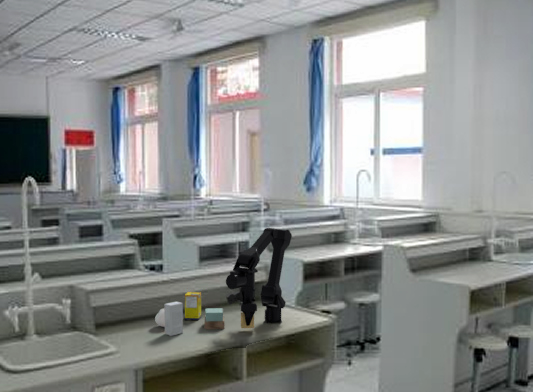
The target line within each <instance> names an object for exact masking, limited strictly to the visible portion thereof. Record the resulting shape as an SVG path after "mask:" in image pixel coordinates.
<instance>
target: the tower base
mask: <svg viewBox="0 0 533 392" xmlns="http://www.w3.org/2000/svg"><path fill="white" fill-rule="evenodd" d="M224 329H225V316H224V315H223V321H206V315H205V316H204V330H224Z"/></svg>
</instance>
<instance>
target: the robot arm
mask: <svg viewBox="0 0 533 392" xmlns="http://www.w3.org/2000/svg"><path fill="white" fill-rule="evenodd" d="M292 236H293V235H292V233H291V231H290V229H282V228H274V227H266V228H264V230H263V232H262V233H261V234H260V236H259V237H258V238H257V239H256V240H255V241H254V243H253V244H252V245H251V246H250V247H249V248H247V249H244V250H243V251H242V252H241V253H240V254H239V255H238V256H237V259H236V261H235V264H234V266H233V269H232V270H231V271H229V275H227V277H226V279H225V284H226V286H227V288H228V289H229V290H235V291H233V292H230V293H228V294H226V295H225V297H226V300H227V304H228V305H232V304H234V303H237V302H238V303H239V306H240V308H239V309H240V312H241V313H242V312H243V313H244V315H245V320H246V325H247V326H249V325H250V323H251V320H252V318H253V316H254V317H255V313H256V312H257V311H258V305H257V303H256V298H255V297H256V286H255V283H256V282H255V280H256V279H255V278H256V277H255V276H256V275H255V274H256V273H258V272H259V270H258V269H257V266H258V264H259V262H260V261H261V259H260V258H261V255H262V253H263V252H265V250H266V249H267V247H268V246H269V245H270V244H271V245H272V255H271V260H270V266H269V273H268V279H267V282H266V284H265V285H262V286H261V292H260V301H261V305H262V307H265V309H264V321H265V322H266V323H267V324H275V323H278V324H280V323H283V321H282V309H284V308H285V307H286V300H285V299H284V298H283V296H282V288H281V286H280V281H281V276H282V271H283V270H282V268H283V263H284V257H285V251H286V250H287V249H288V247H289V246H290V245H291V241H292V238H293V237H292ZM236 289H239V290H236Z"/></svg>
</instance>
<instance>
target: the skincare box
mask: <svg viewBox="0 0 533 392" xmlns="http://www.w3.org/2000/svg"><path fill="white" fill-rule="evenodd" d="M183 307H184V305H183V302H180V301H172V302H167V303H164V312H165V327H164V334H165V335H168V336H169V337H172V336H176V335H180V334H184V313H183V312H184V308H183Z"/></svg>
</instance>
